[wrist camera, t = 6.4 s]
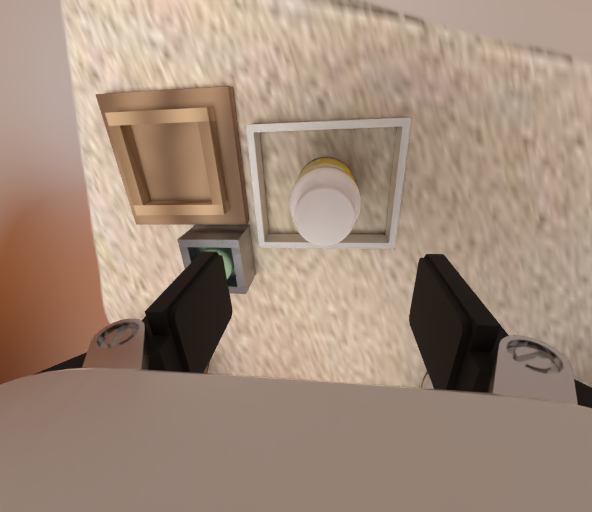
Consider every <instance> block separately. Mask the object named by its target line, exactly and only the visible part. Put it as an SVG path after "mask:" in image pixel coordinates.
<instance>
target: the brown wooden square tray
mask: <svg viewBox="0 0 592 512" xmlns="http://www.w3.org/2000/svg"><path fill="white" fill-rule="evenodd" d="M96 97H97V101H98V104H99V107H100V110H101V113H102V116H103V120H104V123H105V126H106V129H107V132H108V136H109V139H110V142H111V145H112V148H113V152H114V155H115V158H116V161H117V164H118V168H119V171H120V174H121V177H122V180H123V184H124V187H125V190H126V193H127V196H128V200H129V203H130V206H131V209H132V212H133V215H134V219H135V222H136V224H247V222H248V221H249V216H248V208H247V200H246V192H245V184H244V175H243V167H242V159H241V151H240V143H239V135H238V126H237V118H236V110H235V102H234V94H233V87H229V86H224V87H208V88H192V89H176V90H160V91H143V92H127V93H111V94H96Z"/></svg>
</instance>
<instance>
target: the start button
mask: <svg viewBox="0 0 592 512" xmlns="http://www.w3.org/2000/svg"><path fill="white" fill-rule="evenodd" d="M203 251H216V252H218V254H219V255H222V257H223V260H224V266H225V271H226V277H227V279H228V278H229V276H230V274H231V273H232V271H233V270H234V261H233V255H232V249H231V248H217V247H206V248H205V249H204V250H203Z"/></svg>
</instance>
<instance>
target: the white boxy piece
mask: <svg viewBox="0 0 592 512" xmlns="http://www.w3.org/2000/svg"><path fill="white" fill-rule="evenodd" d="M178 243H179V247H180V251H181V255H182V259H183V263H184V267H185V269H186V268H187V267H188V266H189V265H190V264H191V263H192V262H193V260H194V259H195V258H196V257H197V256H198V255H199V254H200V253H201V252H202V251H203V250H204V249H205V248H206V247H217V248H231V249H232V255H233V261H234V270H233V271H232V273H231V274H230V276H229V278H228V279H227V282H228V288H229V293H239V294H246V293H247V291H248V289H249V287H250V285H251V283H252V281H253V278H254V276H255V274H256V273H255V265H254V257H253V249H252V241H251V233H250V225H195V226H194V227H193V228H191V229H190V230H189V231H188V232H186V233H185V234H184V235H183V236H181V237H180V238H179V239H178Z"/></svg>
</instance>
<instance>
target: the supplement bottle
mask: <svg viewBox="0 0 592 512" xmlns="http://www.w3.org/2000/svg"><path fill="white" fill-rule="evenodd" d="M360 210H361V196H360V192H359V189H358V187H357V184H356V182H355V180H354V177H353V175H352V173H351V171H350V169H349V168H348V167H347V166H346V165H345V164H344V163H343V162H341V161H339V160H337V159H334V158H330V157H323V158H318V159H315V160H313V161H311V162H310V163H308V164H307V165H306V166H305V167H304V168H303V170H302V171H301V173H300V175H299V177H298V179H297V181H296V183H295V185H294V187H293V189H292V191H291V194H290V199H289V211H290V215H291V218H292V220H293V222H294V224H295V225H296V228H297V230H298V232H299V233H300V235H301V236H302V237H303V238H304V239H305V240H307V241H308V242H310V243H312V244H315V245H319V246H329V245H334V244H336V243H339V242H340V241H342V240H343V239H345V238H346V237H347V236H348V235H349V233H350V232H351V230H352V228H353V226H354V224H355V223H356V221H357V219H358V217H359V214H360Z"/></svg>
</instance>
